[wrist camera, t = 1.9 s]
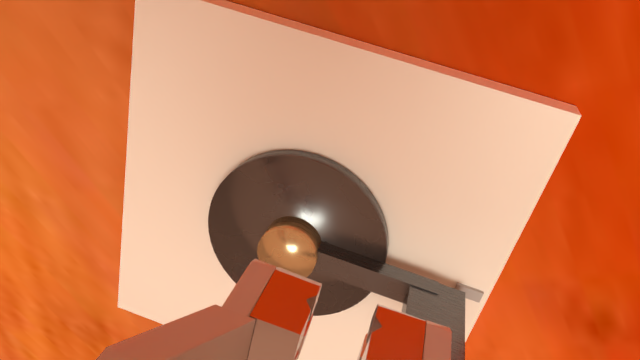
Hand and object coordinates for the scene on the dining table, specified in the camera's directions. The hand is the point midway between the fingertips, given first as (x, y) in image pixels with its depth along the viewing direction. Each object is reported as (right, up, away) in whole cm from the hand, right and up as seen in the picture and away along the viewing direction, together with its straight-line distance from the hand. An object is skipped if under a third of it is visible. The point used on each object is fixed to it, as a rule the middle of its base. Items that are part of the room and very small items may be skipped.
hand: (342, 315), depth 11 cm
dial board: (-2, 0, +32) cm, 32 cm away
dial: (+1, -2, +30) cm, 30 cm away
